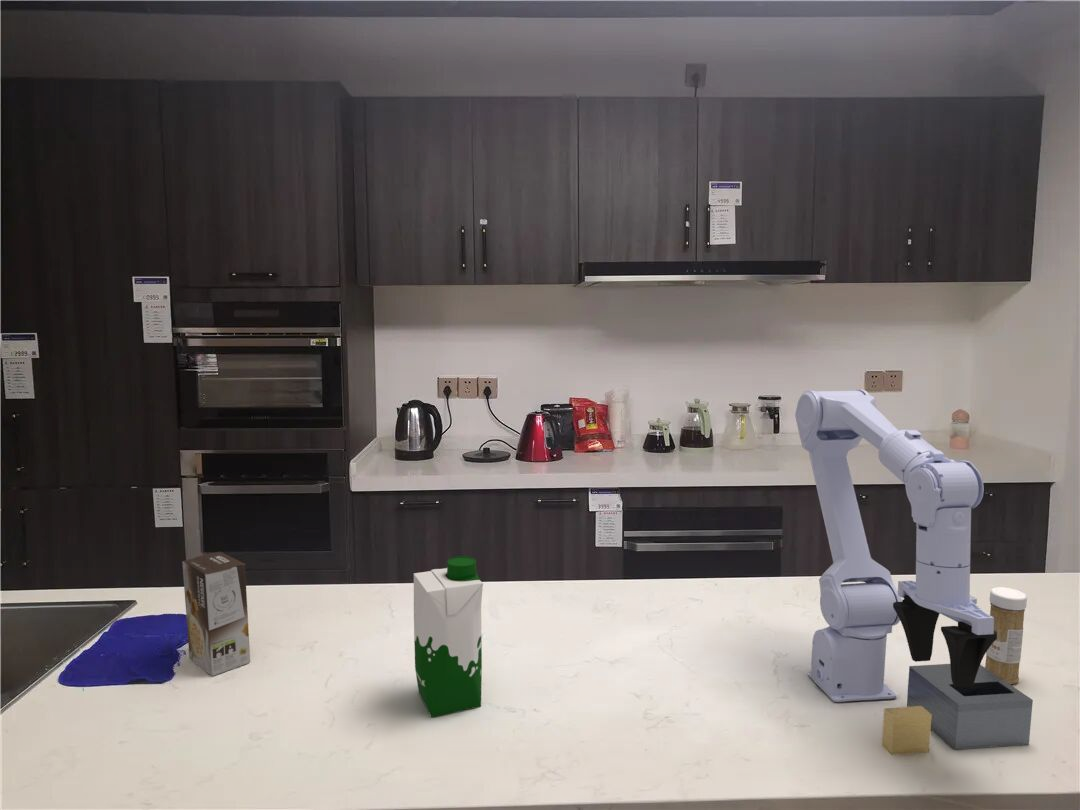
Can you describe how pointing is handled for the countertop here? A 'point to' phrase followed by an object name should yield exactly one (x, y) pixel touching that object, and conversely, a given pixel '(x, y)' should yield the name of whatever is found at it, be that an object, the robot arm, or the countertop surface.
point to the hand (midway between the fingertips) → (941, 672)
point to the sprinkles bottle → (1006, 633)
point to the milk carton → (448, 636)
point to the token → (906, 730)
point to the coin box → (971, 708)
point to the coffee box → (216, 612)
